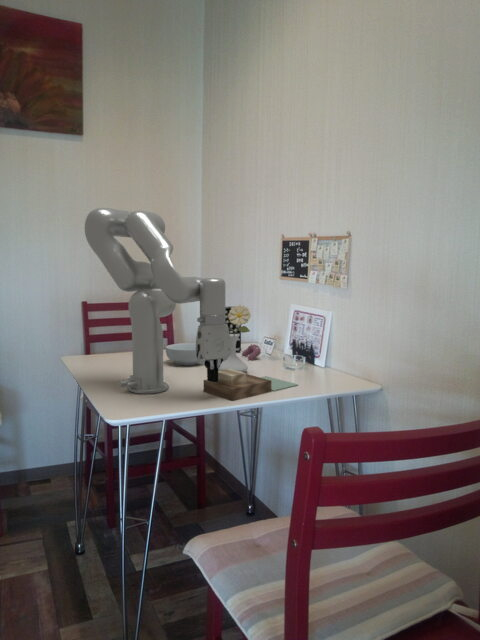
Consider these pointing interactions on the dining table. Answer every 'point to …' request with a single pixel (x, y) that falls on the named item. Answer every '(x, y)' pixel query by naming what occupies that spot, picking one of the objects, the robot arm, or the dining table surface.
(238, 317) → the flower in vase
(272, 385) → the rubber mat
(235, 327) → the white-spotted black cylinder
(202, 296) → the robot arm
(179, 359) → the cereal bowl
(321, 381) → the dining table surface
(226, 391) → the serving board
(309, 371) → the dining table surface
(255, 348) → the pink curved arch
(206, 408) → the dining table surface
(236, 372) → the beige block
